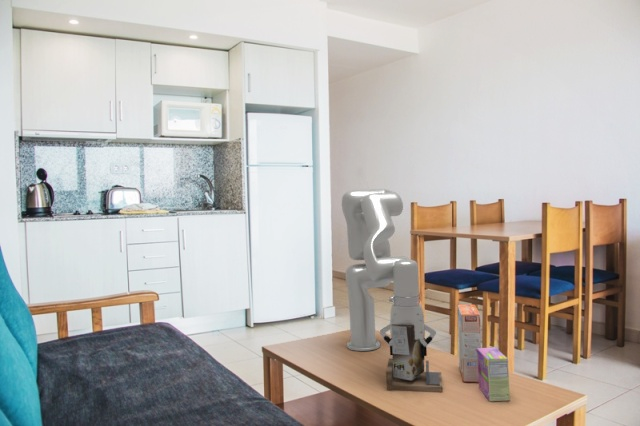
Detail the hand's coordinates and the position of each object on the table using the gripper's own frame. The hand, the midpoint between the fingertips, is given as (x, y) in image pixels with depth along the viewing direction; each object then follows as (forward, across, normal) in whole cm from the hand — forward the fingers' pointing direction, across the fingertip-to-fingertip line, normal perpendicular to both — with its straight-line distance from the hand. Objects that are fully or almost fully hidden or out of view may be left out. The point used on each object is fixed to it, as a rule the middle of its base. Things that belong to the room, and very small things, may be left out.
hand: (408, 357), depth 153 cm
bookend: (+6, +7, 0) cm, 9 cm away
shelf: (+8, +2, 0) cm, 8 cm away
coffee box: (+5, 0, 0) cm, 5 cm away
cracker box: (+8, +19, +9) cm, 22 cm away
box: (+8, +24, -6) cm, 26 cm away
